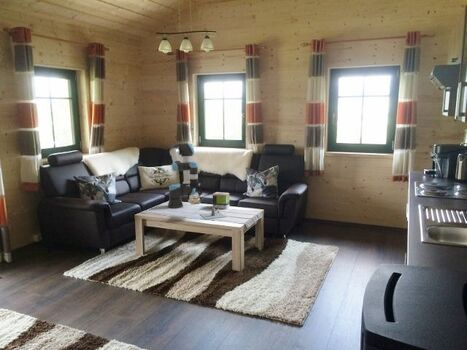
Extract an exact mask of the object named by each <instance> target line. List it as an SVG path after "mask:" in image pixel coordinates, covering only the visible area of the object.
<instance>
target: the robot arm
mask: <svg viewBox="0 0 467 350" xmlns="http://www.w3.org/2000/svg"><path fill="white" fill-rule="evenodd" d="M194 148H195V147H194V146H193V143H191V142H188V143H187V142H186V143H179V142H178V143H175V144H173V145H172V146H171V147H170V148H169V156H171V160H172V163H171V170H172V171H174V172H181V171H182V172H183V182H182V184H181V183H178V182H177V183H172V184H170V185H169V187H168V188H169V190H168V192H169V194H168V195H169V197H168V198H169V200H168V203H167V204H168V205H167V207H168V208H169V209H179V208H183V206H184V204H183V201H182V197H187V201H188V200H189V202H188V204H191V201H190V196H194V195H195V193H196V191H197V197H198V198H199V199H200V200H201V196H202V195H203V189H202V184H201V183H199V178H198V177H199V172H198V171H199V169H198V168H199V167H198V166H199V164H198V161H194V160H193V161H192V158H193V155H195V149H194ZM181 158H182V159H181ZM198 187H199V188H198Z"/></svg>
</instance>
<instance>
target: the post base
mask: <svg viewBox="0 0 467 350" xmlns="http://www.w3.org/2000/svg"><path fill="white" fill-rule="evenodd" d="M210 210H211V212H209V213H202V214H200V216H201V217H202V216H203V217H204V218H203V217H202V218H203V219H204V220H215V219H220V218H226V217H227V216H226V215H225V214H223V212H221V211H219V213H217V212H215V211H216V208H213V207H211V209H210Z"/></svg>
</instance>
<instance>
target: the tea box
mask: <svg viewBox="0 0 467 350" xmlns="http://www.w3.org/2000/svg"><path fill="white" fill-rule="evenodd" d="M212 208H215V209H221V210H222V209H224V210H227V209H228V208H230V193H229V192H219V191H216V192H214V193H212Z"/></svg>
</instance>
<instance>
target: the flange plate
mask: <svg viewBox="0 0 467 350" xmlns="http://www.w3.org/2000/svg"><path fill="white" fill-rule="evenodd" d="M190 201H191V203H190V205H194V206H195V205H201V198H200V199H199V198H198V196H194V195H191V196H190ZM187 202H188V203H189V200H188V199H187Z"/></svg>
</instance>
